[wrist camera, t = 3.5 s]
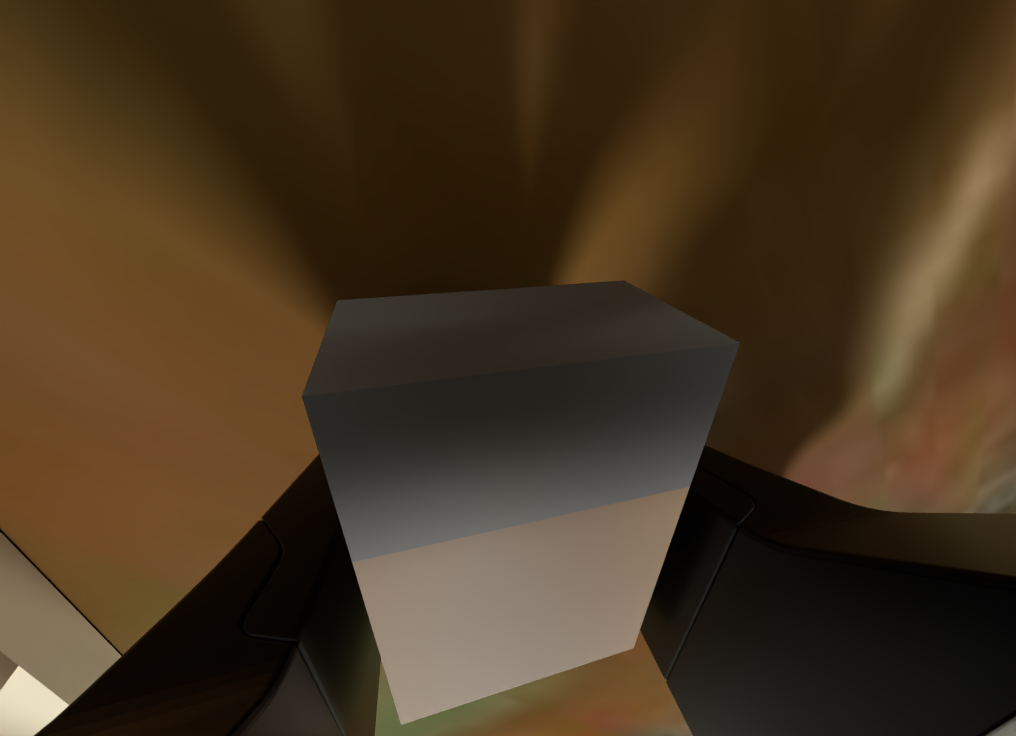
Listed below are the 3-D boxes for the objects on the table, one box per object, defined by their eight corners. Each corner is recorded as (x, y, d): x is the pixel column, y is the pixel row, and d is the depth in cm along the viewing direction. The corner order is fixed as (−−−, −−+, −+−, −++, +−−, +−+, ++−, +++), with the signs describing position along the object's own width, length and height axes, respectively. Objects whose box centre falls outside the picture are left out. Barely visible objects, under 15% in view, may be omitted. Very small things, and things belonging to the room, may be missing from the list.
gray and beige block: (530, 231, 8) (740, 342, 3) (522, 423, 11) (632, 647, 6) (360, 235, 8) (301, 396, 3) (396, 443, 10) (400, 724, 5)
